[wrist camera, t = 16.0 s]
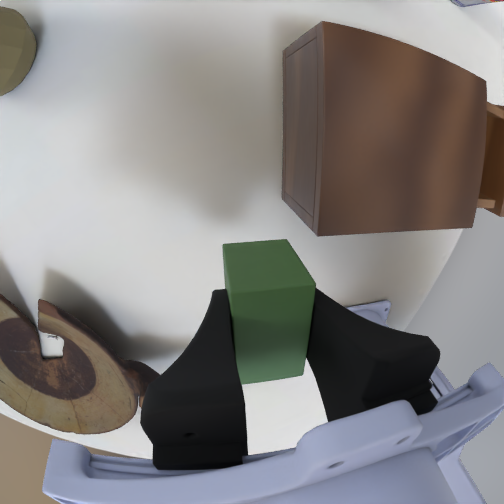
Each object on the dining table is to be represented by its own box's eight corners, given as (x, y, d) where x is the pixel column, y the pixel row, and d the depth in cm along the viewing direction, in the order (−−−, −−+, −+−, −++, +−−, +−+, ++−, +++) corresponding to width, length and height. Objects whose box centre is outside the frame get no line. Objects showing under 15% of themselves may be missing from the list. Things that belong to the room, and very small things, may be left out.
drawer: (497, 114, 20) (535, 123, 15) (488, 199, 24) (523, 217, 19) (385, 72, 17) (433, 66, 12) (379, 193, 22) (422, 217, 17)
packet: (282, 322, 16) (303, 375, 12) (228, 328, 15) (237, 385, 12) (286, 238, 13) (317, 283, 10) (222, 243, 13) (230, 292, 9)
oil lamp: (-38, 239, 17) (-80, 275, 11) (222, 322, 26) (231, 386, 19) (-6, 373, 25) (-24, 410, 19) (177, 432, 34) (179, 477, 27)
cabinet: (424, 80, 19) (486, 81, 12) (416, 198, 24) (472, 228, 17) (282, 51, 17) (321, 20, 10) (281, 199, 22) (317, 236, 15)
